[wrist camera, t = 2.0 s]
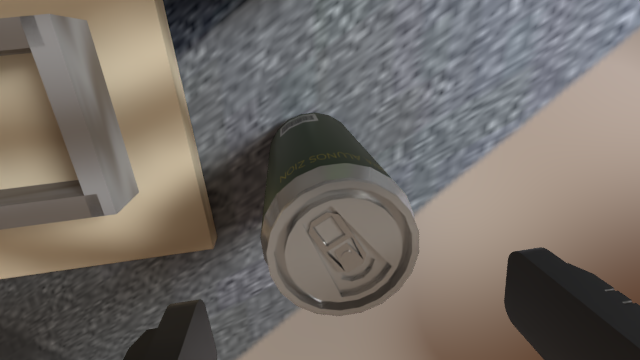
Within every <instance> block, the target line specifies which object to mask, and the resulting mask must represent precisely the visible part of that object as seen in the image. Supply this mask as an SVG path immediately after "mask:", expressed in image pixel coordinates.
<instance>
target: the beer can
mask: <svg viewBox="0 0 640 360" xmlns="http://www.w3.org/2000/svg"><path fill="white" fill-rule="evenodd" d="M261 244H262V249H263V254H264V260H265V261H266V263H267V265H268V266H269V271H270V276H271V277H272V279H273V281H274V282H275V284H276V285H277V287H278V289H279V290H280V292H281V293H282V294H283V295H284V296H285V297H287V298H288V299H289V300H290V301H292V302H293V303H294V304H295V305H296V306H298V307H301V308H303V309H306V310H309V311H311V312H313V313H316V314H323V315H333V316H343V315H349V314H355V313H361V312H363V311H366V310H368V309H371V308H373V307H375V306H377V305H380V304H382V303H383V302H384V301H386V300H387V299H388V298H389V297H391V296H392V295H393V294H395V293H396V292H397V291H399V289H400V288H401V287H402V285H403V284H404V283H405V281H406V280H407V279H408V277H409V276H410V275H411V273H412V271H413V268H414V265H415V262H416V260H417V256H418V254H419V231H418V228H417V226H416V223H415V220H414V214H413V211H412V208H411V206H410V203H409V200H408V198H407V195H406V194H405V193H404V192H403V191H402V190H401V189H400V188H399V186H398V185H397V184H396V183H395V182H394V181H393V180H392V178H391V177H390V176H389V175H388V174H387V173H386V172H385V171H384V170H383V168H382V167H381V166H380V165H379V164H378V163H377V162H376V161H375V160H374V159H373V157H372V156H371V155H370V154H369V153H368V152H367V151H366V150H365V149H364V147H363V146H362V145H361V144H360V143H359V142H358V141H357V140H356V139H355V137H354V136H353V135H352V134H351V133H350V132H349V131H348V130H347V129H346V128H345V126H344V125H343V124H342V123H341V122H339V121H338V120H336V119H334V118H332V117H331V116H329V115H324V114H319V113H309V114H301V115H299V116H297V117H294V118H292V119H290V120H288V121H287V122H286V123H285V124H284V125H283V126H282V127H281V128H280V129H279V130H278V131H277V133H276V135H275V136H274V138H273V140H272V142H271V148H270V153H269V162H268V171H267V181H266V190H265V200H264V209H263V219H262V228H261Z"/></svg>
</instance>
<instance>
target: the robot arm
mask: <svg viewBox="0 0 640 360" xmlns="http://www.w3.org/2000/svg"><path fill="white" fill-rule="evenodd" d="M504 299H505V300H504V303H505V308H506V312H507V314H508V316H509V319H510V320H511V322H512V324H513V325H514V326H515V327H516V328H517V329H518V331H519V332H520V333H521V334H522V335H523V336H524V337H525V339H526V340H527V341H528V342H529V343H530V344H531V345H532V346H533V348H534V349H535V350H536V351H537V352H538V353H539V354H540V355H541V357H542V358H543V359H544V360H640V306H639V305H638V304H637V303H632V301H631V299H629V298H628V297H626V296H625V295H623V294H622V293H620V292H619V291H615V290H614V288H613V287H612V286H610V285H609V284H607V283H606V282H604V281H603V280H601V279H600V278H598V277H597V276H596V275H594V274H592V273H590V272H587V271H585V270H582V269H580V268H578V267H576V266H573V265H571V264H569V263H568V264H567V263H566V262H564V261H563V260H561V259H560V258H559V257H557V256H556V255H554V254H553V253H552V252H550V251H549V250H547V249H545V248H534V249H528V250H522V251H515V252H512V253H511V254H510V255H509V258H508V266H507V277H506V287H505V298H504ZM123 360H217V351H216V346H215V342H214V338H213V334H212V330H211V327H210V323H209V319H208V315H207V311H206V307H205V304H204V302H203V301H202V300H194V301H188V302H181V303H175V304H170V305H169V306H168V307H167V309H166V311H165V313H164V315H163V317H162V320H161V322H160V324H159V326H158V328H155V329H149V330H146V331H145V332H144V333H143V334H142V336H141V337H140V338H139V339H138V340H137V341H136V342H135V343H134V344H133V345H132V346H131V347H130V348H129V350H128V351H127V353H126V355H125V357H124V359H123Z"/></svg>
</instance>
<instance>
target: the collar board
mask: <svg viewBox="0 0 640 360" xmlns="http://www.w3.org/2000/svg"><path fill="white" fill-rule="evenodd" d="M216 240H217V234H216V229H215V225H214V221H213V216H212V212H211V208H210V203H209V199H208V195H207V190H206V186H205V182H204V177H203V173H202V169H201V164H200V160H199V156H198V151H197V147H196V143H195V138H194V134H193V130H192V125H191V121H190V117H189V112H188V108H187V104H186V99H185V95H184V91H183V86H182V82H181V78H180V73H179V69H178V65H177V60H176V56H175V52H174V47H173V43H172V39H171V34H170V30H169V26H168V21H167V17H166V13H165V8H164V4H163V0H0V279H5V278H12V277H19V276H26V275H33V274H40V273H47V272H54V271H61V270H68V269H75V268H82V267H89V266H96V265H103V264H110V263H117V262H124V261H131V260H138V259H145V258H152V257H159V256H166V255H173V254H180V253H187V252H194V251H201V250H208V249H213V248H214V245H215V242H216Z"/></svg>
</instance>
